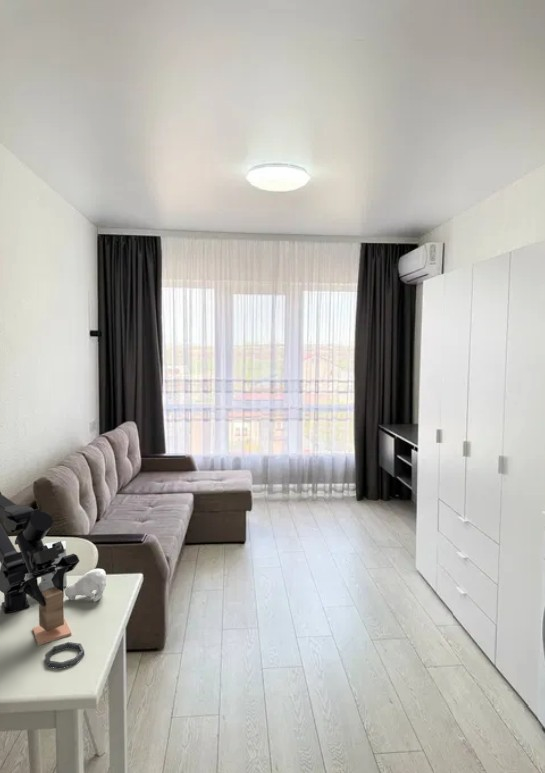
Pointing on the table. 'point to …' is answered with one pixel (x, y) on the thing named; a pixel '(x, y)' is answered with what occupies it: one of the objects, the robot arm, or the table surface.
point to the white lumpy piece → (88, 585)
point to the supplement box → (46, 579)
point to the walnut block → (51, 609)
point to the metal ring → (62, 647)
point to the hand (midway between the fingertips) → (53, 602)
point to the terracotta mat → (51, 633)
